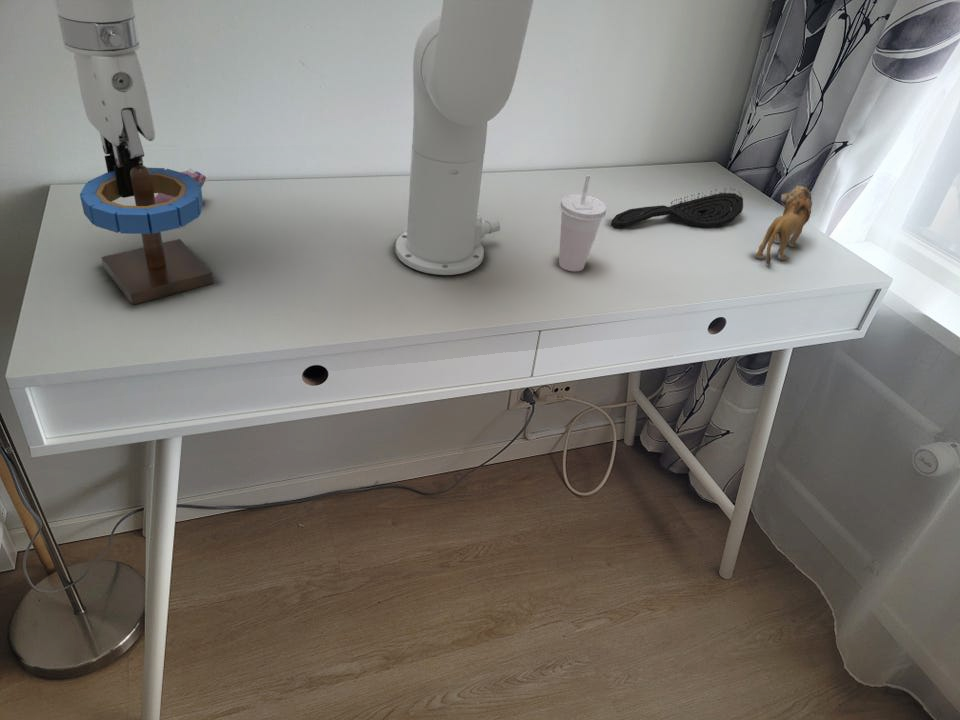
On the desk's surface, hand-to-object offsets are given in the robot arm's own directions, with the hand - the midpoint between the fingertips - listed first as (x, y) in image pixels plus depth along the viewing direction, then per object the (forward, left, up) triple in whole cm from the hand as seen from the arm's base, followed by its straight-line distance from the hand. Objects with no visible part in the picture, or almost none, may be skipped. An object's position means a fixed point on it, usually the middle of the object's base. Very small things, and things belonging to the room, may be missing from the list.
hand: (128, 188), depth 92 cm
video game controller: (-9, -11, -10) cm, 17 cm away
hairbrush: (-77, +28, -10) cm, 83 cm away
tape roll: (0, +5, 0) cm, 5 cm away
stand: (0, +5, -10) cm, 11 cm away
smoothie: (-50, +30, -10) cm, 59 cm away
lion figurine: (-84, +43, -10) cm, 95 cm away
